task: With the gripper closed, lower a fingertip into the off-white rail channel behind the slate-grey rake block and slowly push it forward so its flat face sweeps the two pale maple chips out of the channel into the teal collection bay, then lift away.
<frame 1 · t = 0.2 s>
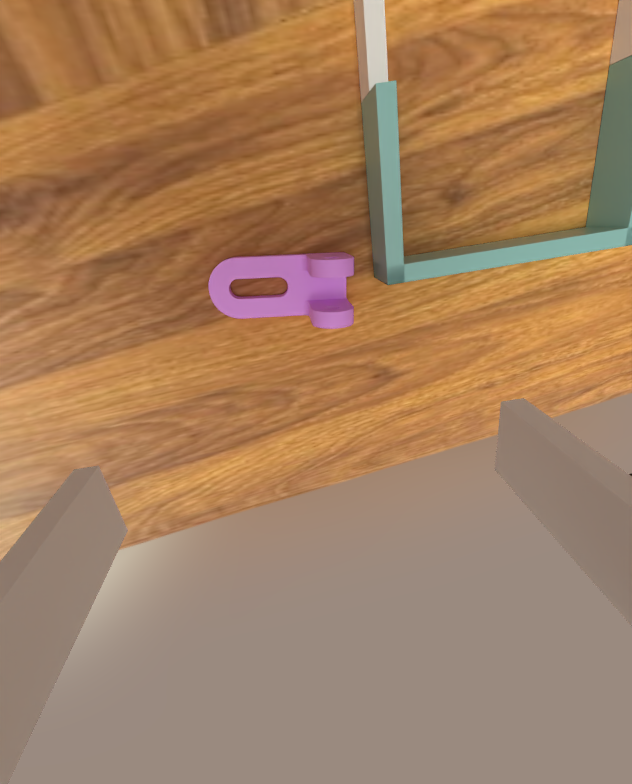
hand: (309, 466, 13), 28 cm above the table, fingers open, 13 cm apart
bracket: (278, 284, 37), on the table
bay: (490, 176, 35), on the table
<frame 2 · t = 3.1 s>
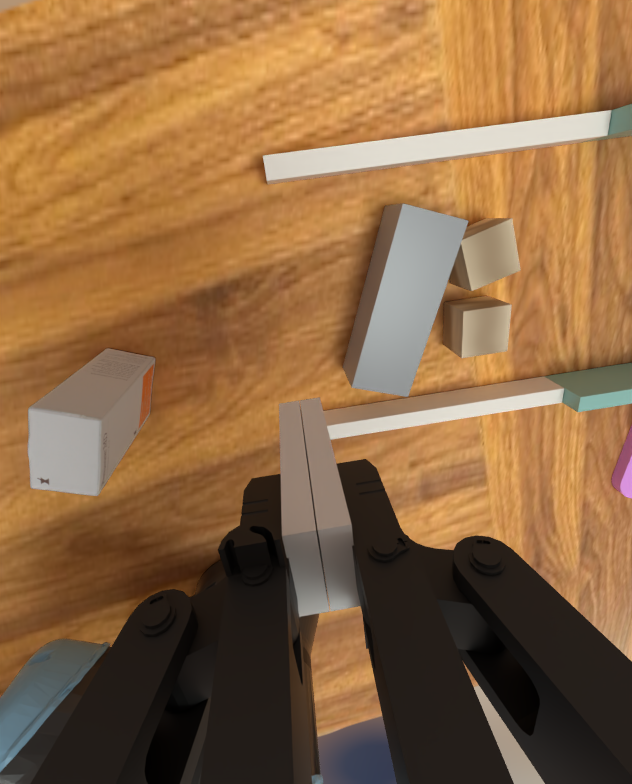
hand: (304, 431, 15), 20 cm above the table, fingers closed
skincare box: (131, 380, 34), on the table
channel: (422, 294, 34), on the table
rake block: (388, 298, 34), on the table
chip a: (464, 320, 35), on the table
chip b: (467, 252, 33), on the table
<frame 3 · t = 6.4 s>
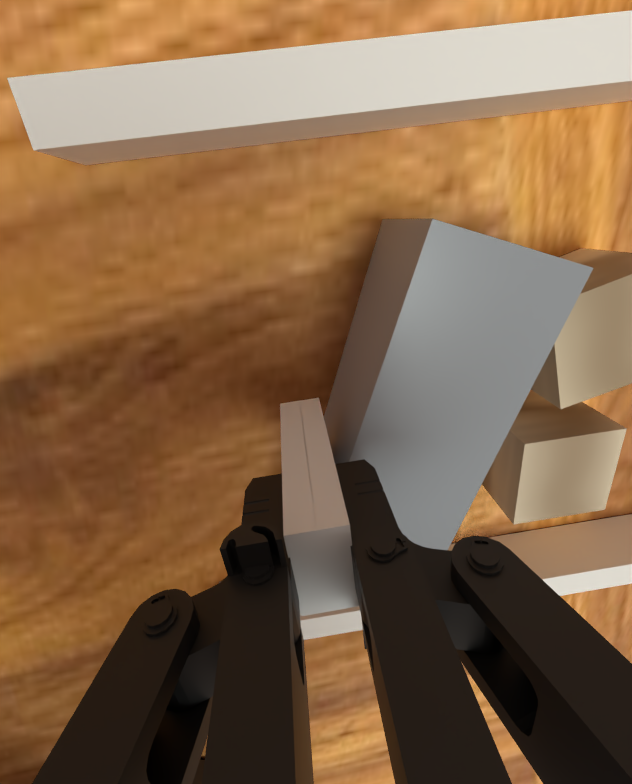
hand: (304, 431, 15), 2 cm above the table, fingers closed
channel: (434, 386, 17), on the table
rake block: (384, 397, 17), on the table, touching chip b
chip a: (510, 428, 19), on the table
chip b: (538, 312, 16), on the table, touching rake block
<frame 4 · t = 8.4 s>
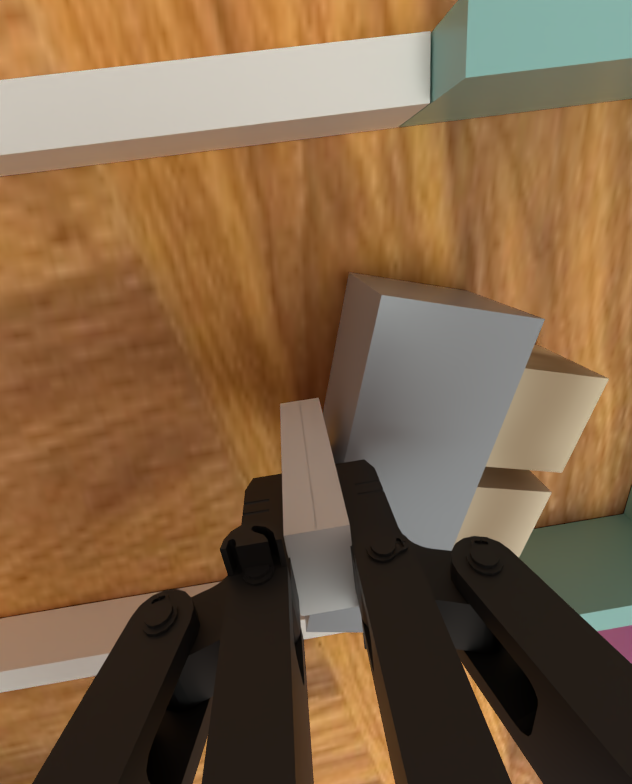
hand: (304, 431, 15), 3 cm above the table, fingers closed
channel: (126, 432, 17), on the table
rake block: (371, 431, 18), on the table, touching gripper
chip a: (449, 470, 19), on the table
bracket: (597, 623, 27), on the table
chip b: (481, 381, 17), on the table
bay: (552, 368, 17), on the table
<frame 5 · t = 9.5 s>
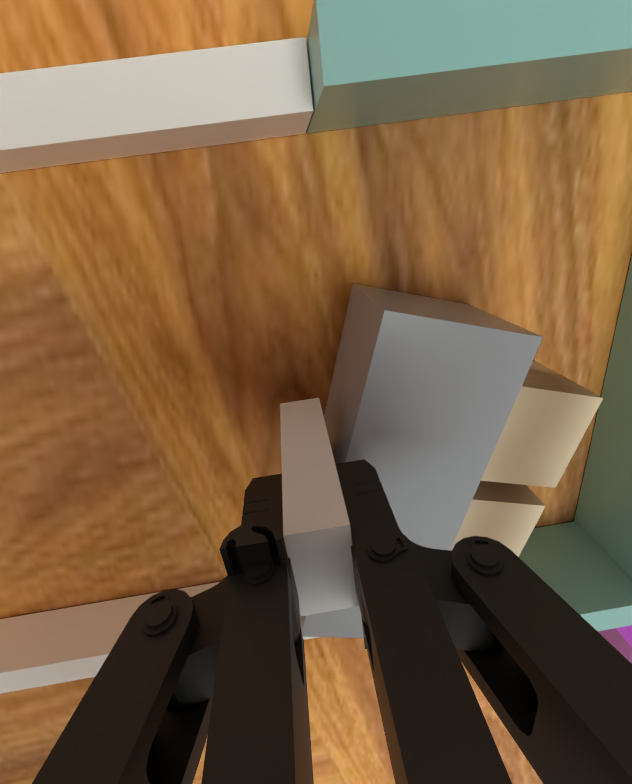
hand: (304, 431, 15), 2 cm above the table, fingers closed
channel: (51, 443, 16), on the table
rake block: (370, 439, 18), on the table, touching gripper
chip a: (445, 480, 20), on the table
bracket: (557, 630, 26), on the table
chip b: (478, 394, 18), on the table
bay: (487, 375, 17), on the table
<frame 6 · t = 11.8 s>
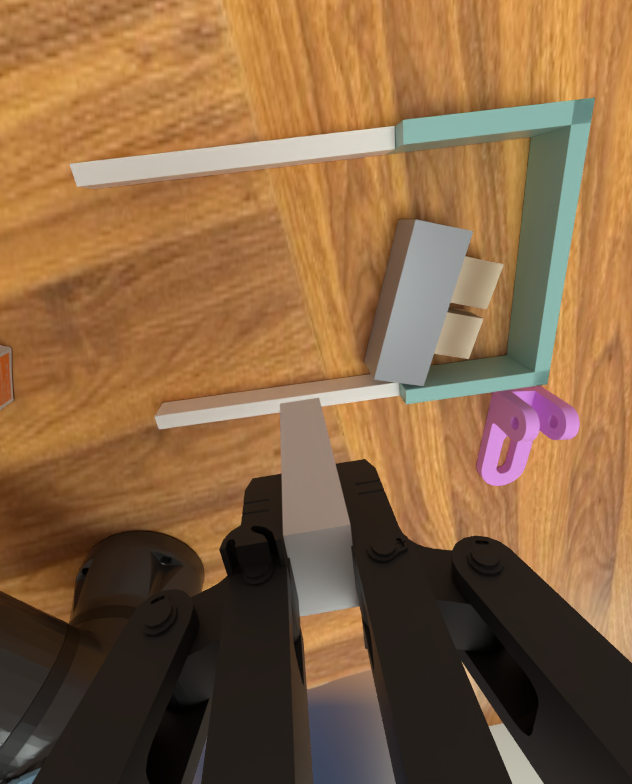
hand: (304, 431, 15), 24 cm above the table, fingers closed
channel: (259, 292, 36), on the table
rake block: (403, 299, 38), on the table
chip a: (440, 324, 39), on the table
bracket: (503, 434, 46), on the table
chip b: (455, 276, 37), on the table
bay: (459, 266, 37), on the table
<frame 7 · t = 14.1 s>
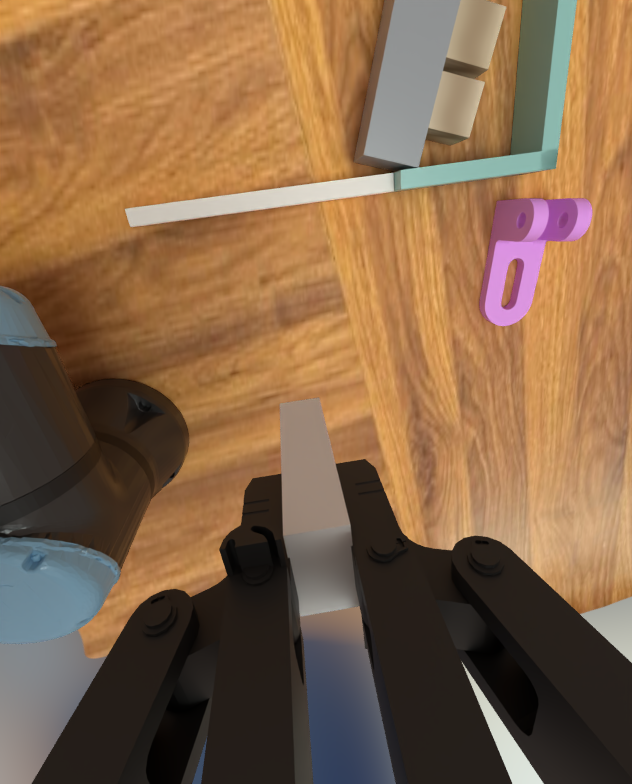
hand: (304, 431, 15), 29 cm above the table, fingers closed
channel: (237, 63, 33), on the table
rake block: (396, 81, 35), on the table
chip a: (437, 116, 36), on the table
bracket: (507, 265, 43), on the table
chip b: (453, 51, 34), on the table
bay: (457, 36, 34), on the table
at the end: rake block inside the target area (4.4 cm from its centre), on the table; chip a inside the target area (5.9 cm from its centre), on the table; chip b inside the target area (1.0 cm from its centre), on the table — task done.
